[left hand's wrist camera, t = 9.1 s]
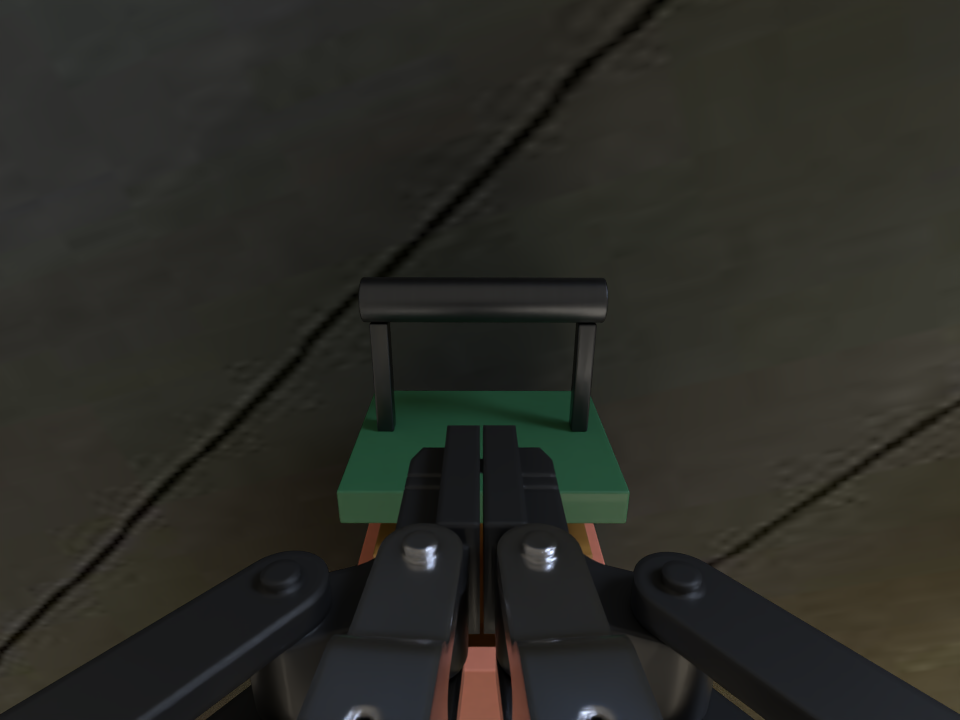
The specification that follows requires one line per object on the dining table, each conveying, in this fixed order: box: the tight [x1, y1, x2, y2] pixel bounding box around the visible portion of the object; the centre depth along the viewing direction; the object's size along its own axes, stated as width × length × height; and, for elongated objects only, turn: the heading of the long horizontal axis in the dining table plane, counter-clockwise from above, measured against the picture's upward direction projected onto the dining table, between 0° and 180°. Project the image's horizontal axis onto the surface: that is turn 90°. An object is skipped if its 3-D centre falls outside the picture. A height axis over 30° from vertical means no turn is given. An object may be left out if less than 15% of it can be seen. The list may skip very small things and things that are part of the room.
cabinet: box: [358, 523, 605, 720], centre depth 25 cm, size 14×10×9 cm
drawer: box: [337, 277, 630, 647], centre depth 22 cm, size 18×9×7 cm, turn 0°
